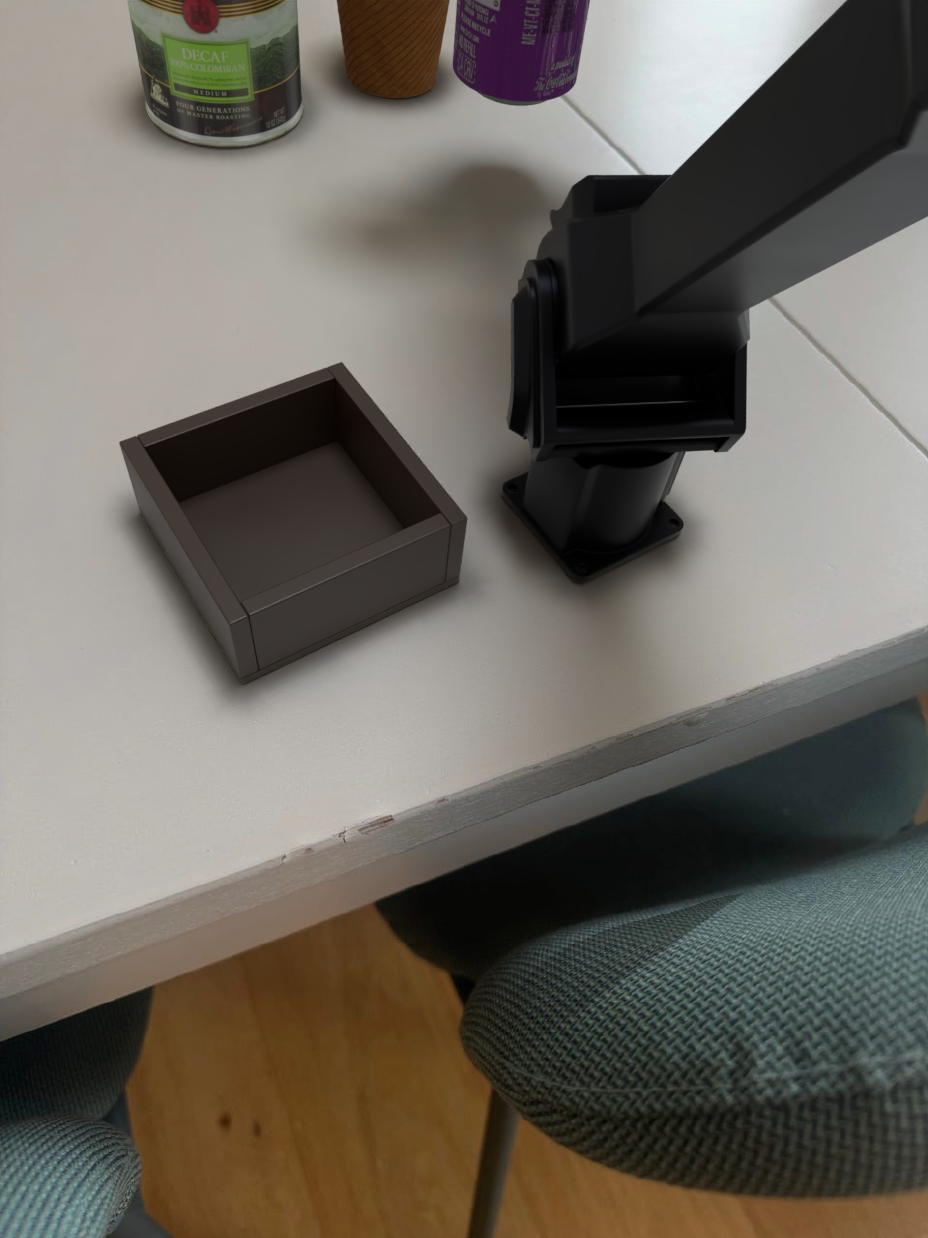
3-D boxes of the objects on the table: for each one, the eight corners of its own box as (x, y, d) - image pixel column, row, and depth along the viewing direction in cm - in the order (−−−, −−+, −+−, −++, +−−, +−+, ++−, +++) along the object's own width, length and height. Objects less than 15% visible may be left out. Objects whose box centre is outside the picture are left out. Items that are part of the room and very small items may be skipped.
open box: (242, 685, 39) (229, 624, 35) (139, 511, 43) (118, 441, 40) (459, 582, 43) (468, 517, 39) (344, 431, 47) (341, 361, 44)
